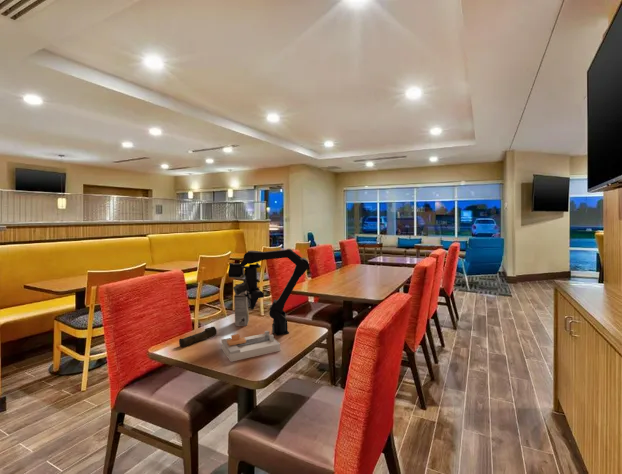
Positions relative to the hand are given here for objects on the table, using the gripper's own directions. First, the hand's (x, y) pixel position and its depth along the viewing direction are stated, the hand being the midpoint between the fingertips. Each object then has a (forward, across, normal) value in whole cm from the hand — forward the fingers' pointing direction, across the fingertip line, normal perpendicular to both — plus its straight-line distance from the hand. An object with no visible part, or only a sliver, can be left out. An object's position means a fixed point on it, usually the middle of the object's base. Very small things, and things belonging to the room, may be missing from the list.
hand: (251, 309), depth 160 cm
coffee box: (+12, -18, 0) cm, 22 cm away
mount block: (+12, +18, -7) cm, 23 cm away
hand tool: (+12, -4, -24) cm, 28 cm away
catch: (+8, +19, -13) cm, 24 cm away
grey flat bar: (+9, +19, -6) cm, 21 cm away
